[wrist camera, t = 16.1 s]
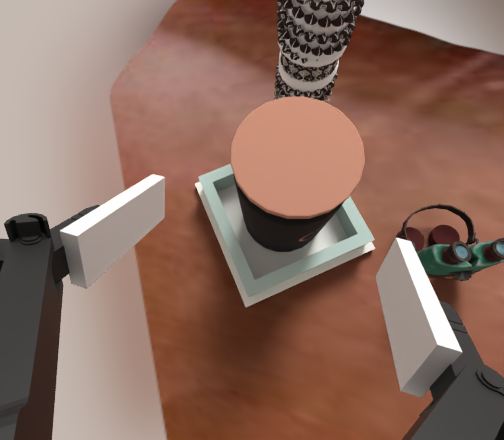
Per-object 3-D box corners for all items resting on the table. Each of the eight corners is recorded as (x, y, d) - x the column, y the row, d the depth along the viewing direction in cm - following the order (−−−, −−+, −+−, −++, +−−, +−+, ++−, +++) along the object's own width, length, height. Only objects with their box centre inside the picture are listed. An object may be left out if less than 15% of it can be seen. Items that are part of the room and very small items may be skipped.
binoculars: (502, 179, 31) (542, 270, 27) (444, 215, 41) (468, 285, 37) (419, 184, 31) (447, 276, 27) (382, 219, 41) (399, 290, 37)
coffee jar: (300, 267, 38) (333, 242, 20) (230, 232, 39) (204, 180, 22) (332, 199, 40) (385, 125, 23) (264, 169, 42) (266, 77, 24)
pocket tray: (372, 249, 39) (386, 243, 34) (246, 307, 37) (244, 308, 33) (309, 138, 44) (315, 121, 39) (196, 186, 42) (188, 173, 38)
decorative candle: (265, 121, 45) (267, -84, 21) (280, 74, 47) (297, -159, 23) (321, 134, 44) (392, -65, 20) (334, 85, 46) (411, -146, 22)
